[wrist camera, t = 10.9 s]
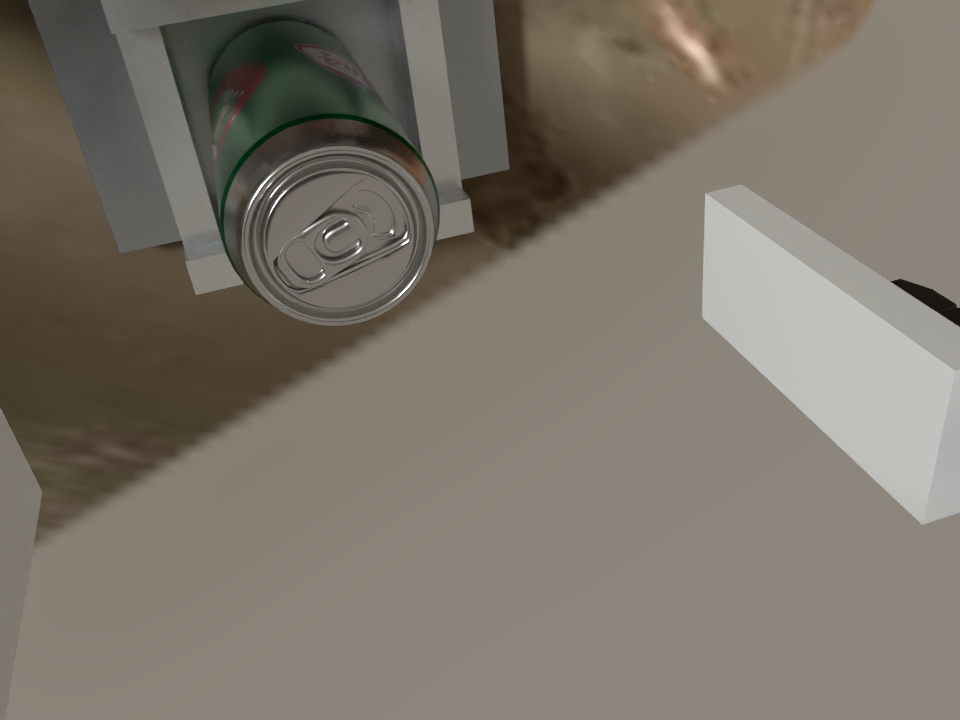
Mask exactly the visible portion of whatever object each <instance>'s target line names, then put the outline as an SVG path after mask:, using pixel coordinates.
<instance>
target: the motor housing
mask: <svg viewBox="0 0 960 720" xmlns="http://www.w3.org/2000/svg"><path fill="white" fill-rule="evenodd" d="M28 3H29V6H30V8H31V11H32V14H33V17H34V19H35V22H36V25H37V28H38V30H39V33H40V36H41V38H42V41H43V44H44V47H45V49H46V52H47V55H48V58H49V60H50V63H51V66H52V69H53V71H54V74H55V77H56V80H57V82H58V85H59V88H60V90H61V93H62V96H63V99H64V101H65V104H66V107H67V110H68V112H69V115H70V118H71V121H72V123H73V126H74V129H75V132H76V134H77V137H78V140H79V143H80V145H81V148H82V151H83V153H84V156H85V159H86V162H87V164H88V167H89V170H90V173H91V175H92V178H93V181H94V184H95V186H96V189H97V192H98V195H99V197H100V200H101V203H102V205H103V208H104V211H105V214H106V216H107V219H108V222H109V225H110V227H111V230H112V233H113V236H114V238H115V241H116V244H117V247H118V249H119V252H120V254H121V253H126V252H130V251H135V250H140V249H144V248H149V247H154V246H158V245H163V244H167V243H172V242H177V241H181V240H182V242H183V245H184V248H185V263H186V266H187V269H188V272H189V276H190V279H191V282H192V285H193V288H194V291H195V294H196V295H198V294H202V293H207V292H211V291H216V290H220V289H224V288H229V287H233V286H238V285H242V284H244V283H243V281H242V280H241V279H240V277H239V276H238V274H237V273H236V272H235V270H234V269H233V267H232V265H231V263H230V261H229V259H228V257H227V255H226V251H225V248H224V245H223V241H222V237H221V229H220V220H219V209H218V199H217V188H216V178H215V168H214V157H213V147H212V136H211V126H210V115H209V105H208V89H209V83H210V78H211V74H212V72H213V69H214V67H215V64H216V62H217V60H218V59H219V57H220V55H221V54H222V52H223V51H224V50H225V49H226V48H227V46H228V45H229V44H230V43H231V42H232V41H233V40H235V39H236V38H237V37H238V36H240V35H241V34H242V33H244V32H246V31H248V30H250V29H251V28H254V27H257V26H259V25H262V24H265V23H271V22H276V21H293V22H299V23H305V24H308V25H311V26H314V27H317V28H319V29H321V30H323V31H325V32H327V33H328V34H330V35H331V36H332V37H334V38H335V39H337V40H338V41H339V42H340V43H341V44H342V45H343V46H344V47H345V48H346V49H347V50H348V51H349V53H350V54H351V55H352V57H353V58H354V59H355V61H356V62H357V64H358V65H359V67H360V68H361V69H362V71H363V72H364V74H365V75H366V77H367V78H368V80H369V81H370V83H371V84H372V85H373V87H374V88H375V90H376V91H377V93H378V94H379V96H380V97H381V99H382V100H383V101H384V103H385V104H386V106H387V107H388V109H389V110H390V112H391V113H392V115H393V116H394V117H395V119H396V120H397V122H398V123H399V125H400V126H401V128H402V129H403V130H404V132H405V133H406V135H407V136H408V138H409V139H410V141H411V142H412V144H413V145H414V146H415V148H416V149H417V151H418V152H419V154H420V155H421V157H422V158H423V160H424V161H425V163H426V165H427V167H428V168H429V170H430V172H431V174H432V176H433V179H434V182H435V185H436V188H437V192H438V198H439V205H440V224H439V229H438V235H437V239H436V240H440V239H444V238H449V237H453V236H457V235H462V234H466V233H470V232H474V226H473V218H472V210H471V202H470V198H469V197H468V196H467V194H466V193H465V192H464V190H463V189H462V183H461V180H463V179H467V178H472V177H477V176H481V175H486V174H490V173H495V172H500V171H504V170H509V169H510V168H509V158H508V148H507V138H506V128H505V118H504V107H503V97H502V87H501V77H500V67H499V57H498V47H497V37H496V26H495V16H494V6H493V0H28Z"/></svg>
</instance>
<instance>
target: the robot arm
mask: <svg viewBox="0 0 960 720" xmlns="http://www.w3.org/2000/svg"><path fill="white" fill-rule="evenodd" d="M704 226H705V227H704V261H703V297H702V298H703V299H702V301H703V302H702V317H703V319H705V320H706V321H707V322H708V323H709V324H710V325H711V326H712V327H713V328H714V329H715V330H716V331H717V332H718V333H720V334H721V335H722V336H723V337H724V338H725V339H726V340H727V341H728V342H729V343H730V344H731V345H732V346H733V347H734V348H735V349H736V350H737V351H739V352H740V353H741V354H742V355H743V356H744V357H745V358H746V359H747V360H748V361H749V362H750V363H751V364H752V365H753V366H754V367H755V368H757V369H758V370H759V371H760V372H761V373H762V374H763V375H764V376H765V377H766V378H767V379H768V380H769V381H770V382H771V383H772V384H774V385H775V386H776V387H777V388H778V389H779V390H780V391H781V392H782V393H783V394H784V395H785V396H786V397H787V398H788V399H790V401H792V402H793V403H794V404H795V405H796V406H797V407H798V408H799V409H800V410H801V411H802V412H803V413H804V414H805V415H807V417H808V418H810V419H811V420H812V421H813V422H814V423H815V424H816V425H817V426H818V427H819V428H820V429H821V430H822V431H823V432H824V433H825V434H827V435H828V436H829V437H830V438H831V439H832V440H833V441H834V442H835V443H836V444H837V445H838V446H839V447H840V448H841V449H843V451H845V452H846V453H847V454H848V455H849V456H850V457H851V458H852V459H853V460H854V461H855V462H856V463H857V464H858V465H859V466H861V467H862V468H863V469H864V470H865V471H866V472H867V473H868V474H869V475H870V476H871V477H872V478H873V479H874V480H875V481H877V483H878V484H880V485H881V486H882V487H883V488H884V489H885V490H886V491H887V492H888V493H889V494H890V495H891V496H892V497H893V498H894V499H895V500H897V501H898V502H899V503H900V504H901V505H902V506H903V507H904V508H905V509H906V510H907V511H908V512H909V513H910V514H911V515H912V516H913V517H915V518H916V519H917V520H918V521H919V522H920V523H921V524H922V525H923V524H927V523H930V522H933V521H936V520H939V519H942V518H945V517H948V516H951V515H954V514H957V513H960V308H957V306H956V304H955V303H953V302H952V301H950V300H948V299H947V298H945V297H944V296H942V295H940V294H939V293H937V292H936V291H934V290H932V289H929V288H926V287H924V286H920V285H917V284H914V283H911V282H908V281H905V280H902V279H898V280H895V281H891V282H890V281H888V280H887V279H885V278H884V277H882V276H881V275H879V274H878V273H876V272H874V271H873V270H871V269H870V268H868V267H867V266H865V265H864V264H862V263H861V262H859V261H858V260H856V259H855V258H853V257H852V256H850V255H848V254H847V253H845V252H844V251H842V250H841V249H839V248H838V247H836V246H835V245H833V244H832V243H830V242H828V241H827V240H825V239H824V238H822V237H821V236H819V235H818V234H816V233H815V232H813V231H812V230H810V229H809V228H807V227H806V226H804V225H803V224H801V223H799V222H798V221H796V220H795V219H793V218H792V217H790V216H789V215H787V214H786V213H784V212H783V211H781V210H780V209H778V208H777V207H775V206H773V205H772V204H770V203H769V202H767V201H766V200H764V199H763V198H761V197H760V196H758V195H756V194H755V193H754V192H752V191H751V190H749V189H747V188H746V187H744V186H743V185H738V186H733V187H729V188H725V189H721V190H717V191H712V192H708V193H706V194H705V224H704ZM41 497H42V490H41V488H40V486H39V484H38V482H37V480H36V478H35V476H34V474H33V472H32V470H31V468H30V466H29V464H28V462H27V460H26V458H25V456H24V454H23V452H22V450H21V448H20V446H19V444H18V442H17V440H16V438H15V436H14V434H13V432H12V430H11V428H10V426H9V424H8V422H7V420H6V418H5V416H4V414H3V412H2V410H1V408H0V720H5V716H6V709H7V703H8V698H9V691H10V684H11V679H12V673H13V667H14V661H15V655H16V649H17V643H18V637H19V631H20V625H21V619H22V613H23V607H24V600H25V594H26V588H27V582H28V576H29V570H30V564H31V558H32V552H33V546H34V540H35V534H36V528H37V522H38V516H39V510H40V503H41Z"/></svg>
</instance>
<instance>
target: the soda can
mask: <svg viewBox="0 0 960 720" xmlns="http://www.w3.org/2000/svg"><path fill="white" fill-rule="evenodd" d="M208 105H209V115H210V126H211V136H212V147H213V157H214V168H215V178H216V188H217V199H218V209H219V220H220V229H221V237H222V241H223V245H224V248H225V251H226V255H227V257H228V259H229V261H230V263H231V265H232V267H233V269H234V270H235V272H236V273H237V274H238V276H239V277H240V279H241V280H242V281H243V283H244V284H245V285H246V286H247V287H248V288H249V289H250V290H251V291H252V292H253V293H254V294H256V295H257V296H259V297H260V298H261V299H263V300H264V301H265V302H267V303H268V304H270V305H272V306H274V307H276V308H277V309H279V310H280V311H281V312H283V313H285V314H287V315H289V316H291V317H293V318H295V319H298V320H301V321H304V322H307V323H311V324H317V325H322V326H343V325H352V324H356V323H361V322H365V321H368V320H370V319H373V318H375V317H378V316H380V315H382V314H383V313H385V312H387V311H389V310H391V309H392V308H393V307H395V306H396V305H397V304H399V303H400V302H401V301H403V300H404V299H405V298H406V297H407V296H408V295H409V294H410V293H411V292H412V291H413V289H414V288H415V286H416V285H417V284H418V282H419V281H420V280H421V278H422V276H423V274H424V272H425V270H426V269H427V266H428V263H429V261H430V258H431V255H432V251H433V248H434V245H435V242H436V239H437V235H438V229H439V224H440V205H439V198H438V192H437V188H436V185H435V182H434V179H433V176H432V174H431V172H430V170H429V168H428V167H427V165H426V163H425V161H424V160H423V158H422V157H421V155H420V154H419V152H418V151H417V149H416V148H415V146H414V145H413V144H412V142H411V141H410V139H409V138H408V136H407V135H406V133H405V132H404V130H403V129H402V128H401V126H400V125H399V123H398V122H397V120H396V119H395V117H394V116H393V115H392V113H391V112H390V110H389V109H388V107H387V106H386V104H385V103H384V101H383V100H382V99H381V97H380V96H379V94H378V93H377V91H376V90H375V88H374V87H373V85H372V84H371V83H370V81H369V80H368V78H367V77H366V75H365V74H364V72H363V71H362V69H361V68H360V67H359V65H358V64H357V62H356V61H355V59H354V58H353V57H352V55H351V54H350V53H349V51H348V50H347V49H346V48H345V47H344V46H343V45H342V44H341V43H340V42H339V41H338V40H337V39H335V38H334V37H332V36H331V35H330V34H328V33H327V32H325V31H323V30H321V29H319V28H317V27H314V26H311V25H308V24H305V23H299V22H293V21H276V22H271V23H265V24H262V25H259V26H257V27H254V28H251V29H250V30H248V31H246V32H244V33H242V34H241V35H240V36H238V37H237V38H236V39H235V40H233V41H232V42H231V43H230V44H229V45H228V46H227V48H226V49H225V50H224V51H223V52H222V54H221V55H220V57H219V59H218V60H217V62H216V64H215V67H214V69H213V72H212V74H211V78H210V83H209V89H208Z"/></svg>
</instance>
